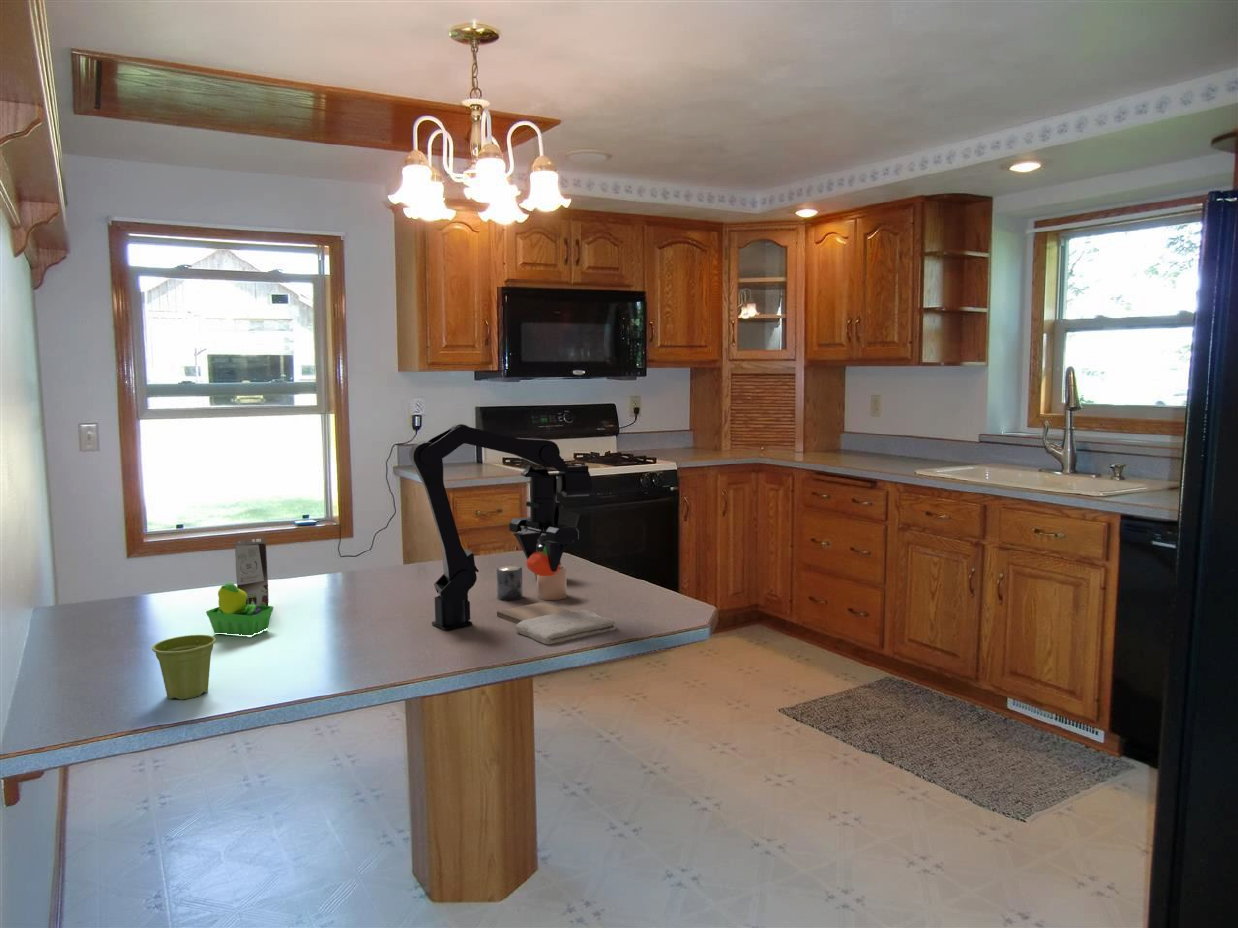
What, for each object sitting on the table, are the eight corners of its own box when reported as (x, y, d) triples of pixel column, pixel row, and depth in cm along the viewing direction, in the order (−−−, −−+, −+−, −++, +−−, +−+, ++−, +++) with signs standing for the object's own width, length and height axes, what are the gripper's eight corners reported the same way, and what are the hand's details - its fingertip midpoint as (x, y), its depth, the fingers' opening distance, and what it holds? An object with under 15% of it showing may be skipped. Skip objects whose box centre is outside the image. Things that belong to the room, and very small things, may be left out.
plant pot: (160, 708, 136) (156, 655, 135) (151, 691, 143) (148, 641, 143) (223, 695, 141) (220, 644, 140) (212, 680, 149) (209, 631, 148)
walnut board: (527, 627, 179) (527, 622, 179) (496, 615, 188) (496, 611, 188) (573, 616, 187) (573, 612, 187) (542, 606, 196) (542, 601, 196)
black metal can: (506, 601, 200) (505, 572, 200) (492, 597, 205) (491, 568, 204) (527, 597, 204) (526, 568, 203) (513, 593, 209) (513, 564, 208)
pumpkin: (546, 572, 193) (550, 544, 193) (565, 579, 186) (568, 549, 186) (518, 571, 189) (522, 542, 189) (536, 578, 182) (540, 548, 182)
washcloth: (619, 631, 177) (619, 616, 177) (546, 648, 166) (546, 633, 166) (585, 619, 186) (585, 605, 186) (514, 634, 175) (514, 620, 175)
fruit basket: (277, 629, 180) (274, 576, 179) (248, 642, 171) (245, 586, 170) (231, 626, 183) (228, 574, 182) (200, 638, 174) (197, 583, 173)
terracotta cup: (548, 601, 200) (547, 571, 199) (531, 596, 205) (531, 567, 205) (572, 596, 204) (572, 567, 204) (555, 591, 210) (555, 563, 209)
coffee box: (269, 614, 192) (265, 543, 190) (237, 617, 190) (233, 545, 188) (269, 604, 200) (266, 536, 199) (239, 607, 198) (235, 538, 197)
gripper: (599, 499, 184) (598, 570, 185) (549, 490, 198) (548, 557, 200) (556, 502, 177) (556, 577, 178) (508, 493, 191) (507, 562, 193)
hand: (542, 568), depth 187 cm, fingers closed on pumpkin, 8 cm apart
